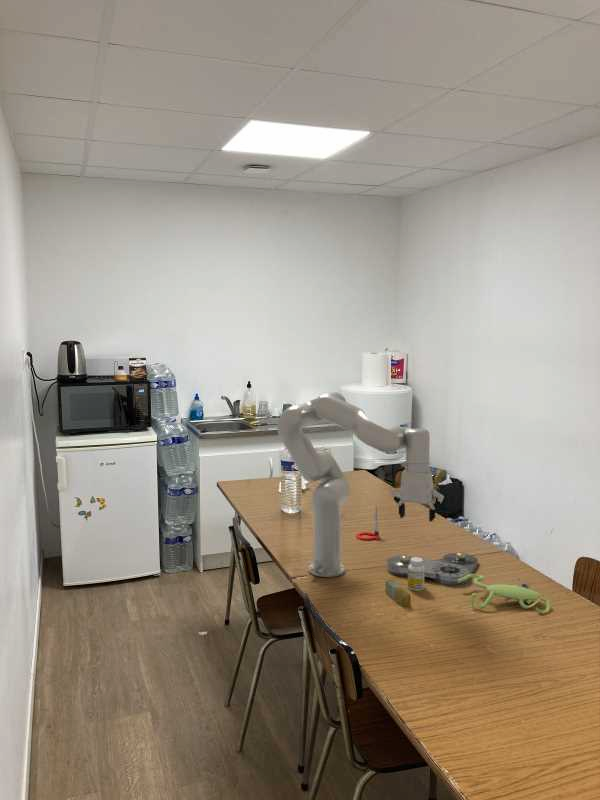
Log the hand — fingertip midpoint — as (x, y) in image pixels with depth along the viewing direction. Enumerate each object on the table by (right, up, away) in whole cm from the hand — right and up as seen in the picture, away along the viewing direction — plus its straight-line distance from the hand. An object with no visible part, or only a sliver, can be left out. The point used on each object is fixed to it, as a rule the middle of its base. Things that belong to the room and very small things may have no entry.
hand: (416, 518), depth 216 cm
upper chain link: (+6, -22, +14) cm, 26 cm away
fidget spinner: (+17, -21, +17) cm, 32 cm away
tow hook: (-11, -17, +52) cm, 55 cm away
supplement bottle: (0, -23, +2) cm, 23 cm away
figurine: (+25, -25, -7) cm, 36 cm away
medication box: (-7, -25, -6) cm, 26 cm away
